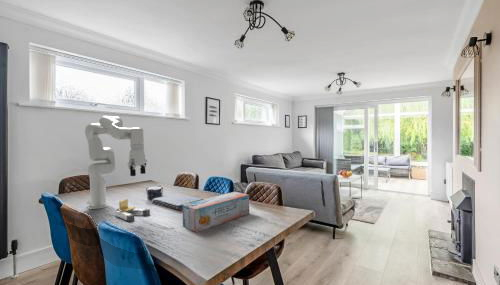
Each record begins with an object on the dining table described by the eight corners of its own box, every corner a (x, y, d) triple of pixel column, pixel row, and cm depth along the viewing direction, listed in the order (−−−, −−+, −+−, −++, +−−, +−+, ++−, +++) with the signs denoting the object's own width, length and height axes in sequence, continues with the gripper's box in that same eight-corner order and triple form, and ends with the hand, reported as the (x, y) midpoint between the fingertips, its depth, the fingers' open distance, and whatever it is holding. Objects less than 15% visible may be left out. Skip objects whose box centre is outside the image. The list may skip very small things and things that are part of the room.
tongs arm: (112, 214, 157) (112, 209, 157) (120, 212, 161) (120, 208, 161) (129, 221, 144) (129, 216, 144) (137, 219, 148) (137, 214, 148)
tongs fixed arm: (123, 214, 158) (122, 209, 158) (126, 212, 161) (126, 208, 161) (146, 215, 155) (146, 210, 154) (149, 214, 157) (149, 209, 157)
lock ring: (118, 210, 155) (118, 201, 154) (126, 207, 162) (126, 198, 161) (127, 211, 153) (127, 202, 153) (135, 207, 160) (134, 199, 160)
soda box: (235, 210, 165) (235, 191, 165) (250, 214, 156) (250, 194, 155) (181, 226, 136) (181, 203, 136) (195, 233, 126) (195, 208, 126)
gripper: (140, 147, 163) (141, 172, 163) (122, 148, 146) (123, 176, 146) (150, 146, 161) (151, 172, 162) (133, 147, 144) (134, 176, 145)
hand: (138, 174), depth 154 cm, fingers open, 9 cm apart
